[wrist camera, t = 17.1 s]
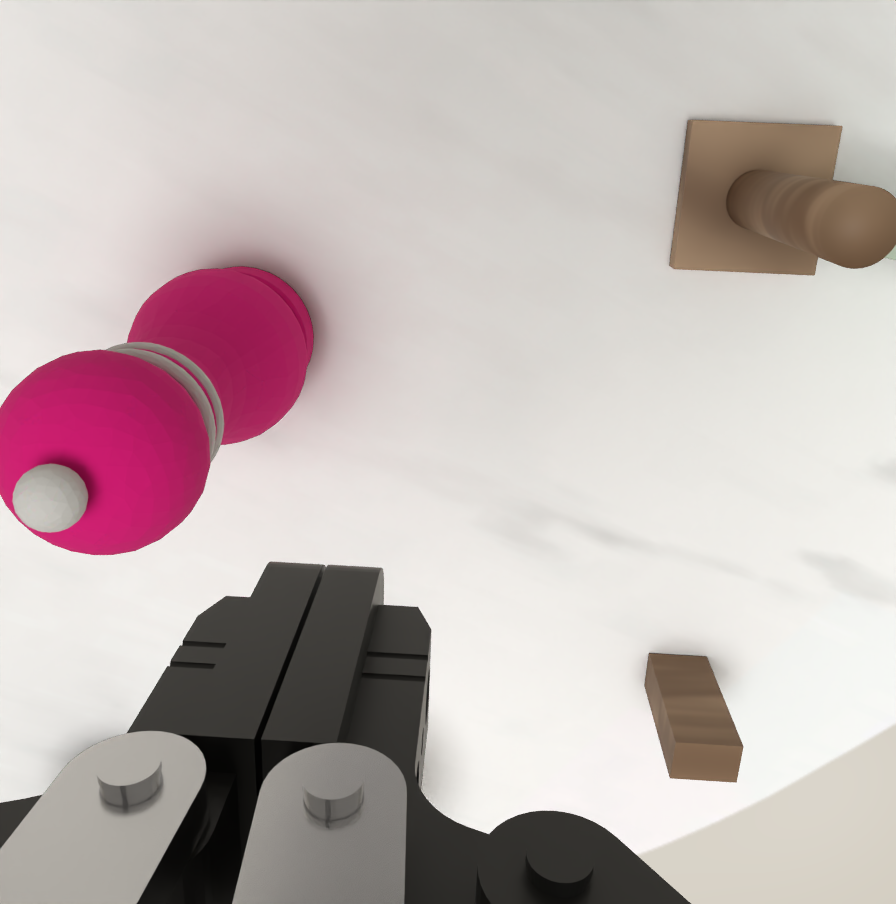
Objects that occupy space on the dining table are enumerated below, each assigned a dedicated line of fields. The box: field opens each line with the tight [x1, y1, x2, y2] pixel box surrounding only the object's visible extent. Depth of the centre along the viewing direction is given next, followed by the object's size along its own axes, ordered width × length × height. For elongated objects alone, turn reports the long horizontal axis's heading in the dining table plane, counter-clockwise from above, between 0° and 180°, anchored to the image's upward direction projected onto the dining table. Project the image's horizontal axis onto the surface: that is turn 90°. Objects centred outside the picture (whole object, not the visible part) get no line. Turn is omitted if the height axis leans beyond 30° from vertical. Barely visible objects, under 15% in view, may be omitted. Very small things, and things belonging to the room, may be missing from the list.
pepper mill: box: [0, 266, 314, 555], centre depth 31 cm, size 7×7×20 cm
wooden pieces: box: [644, 120, 896, 782], centre depth 35 cm, size 28×6×12 cm, turn 178°
